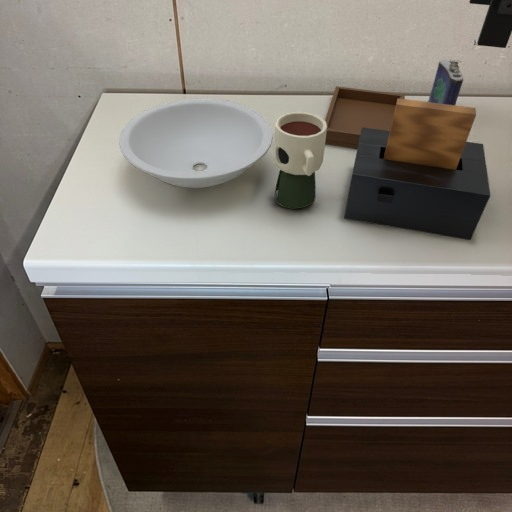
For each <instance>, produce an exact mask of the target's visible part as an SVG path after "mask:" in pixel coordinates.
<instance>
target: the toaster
mask: <svg viewBox="0 0 512 512" xmlns="http://www.w3.org/2000/svg"><path fill="white" fill-rule="evenodd" d="M389 133H390V131H386V130H378V129H371V128H364V127H362V129H361V134H360V138H359V143H358V148H356V154H355V158H354V162H353V168H352V172H351V178H350V184H349V190H348V194H347V200H346V205H345V211H344V216H343V219H344V220H345V219H346V220H351V221H357V222H363V223H370V224H373V225H375V224H376V225H379V226H381V225H382V226H388V227H392V228H398V229H404V230H409V231H410V230H411V231H415V232H421V233H427V234H431V235H432V234H433V235H440V236H445V237H450V238H455V239H456V238H457V239H460V240H461V239H462V240H467V241H471V240H472V238H473V236H474V233H475V231H476V229H477V227H478V224H479V222H480V220H481V218H482V216H483V213H484V211H485V208H486V207H487V204H488V202H489V200H490V197H491V196H492V195H491V189H490V181H489V176H488V168H487V162H486V154H485V148H484V147H485V146H484V144H483V143H480V142H473V141H466V144H465V147H464V149H463V152H462V155H461V158H460V160H459V163H458V166H457V168H456V170H454V169H447V168H441V167H434V166H427V165H420V164H414V163H407V162H400V161H393V160H387V159H383V158H384V154H385V150H386V145H387V141H388V137H389Z"/></svg>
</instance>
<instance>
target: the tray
mask: <svg viewBox="0 0 512 512" xmlns="http://www.w3.org/2000/svg"><path fill="white" fill-rule="evenodd" d="M398 98H399V99H406V94H403V93H394V92H385V91H379V90H377V91H376V90H369V89H362V88H353V87H346V86H337V85H336V86H335V87H334V91H333V94H332V96H331V100H330V104H329V107H328V110H327V113H326V116H325V118H324V120H325V121H326V125H327V133H326V140H325V145H329V146H337V147H344V148H351V149H357V148H358V143H359V138H360V134H361V129H362V127H364V128H371V129H378V130H386V131H390V128H391V124H392V120H393V115H394V111H395V107H396V103H397V99H398Z"/></svg>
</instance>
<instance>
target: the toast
mask: <svg viewBox="0 0 512 512" xmlns="http://www.w3.org/2000/svg"><path fill="white" fill-rule="evenodd" d="M476 117H477V109H476V107H470V106H463V105H447V104H439V103H431V102H428V101H421V100H415V99H408V98H407V99H406V98H405V99H399V98H398V99H397V103H396V107H395V111H394V115H393V120H392V124H391V128H390V133H389V137H388V141H387V145H386V150H385V154H384V158H383V159H387V160H393V161H400V162H407V163H414V164H420V165H427V166H434V167H441V168H447V169H454V170H456V168H457V166H458V163H459V160H460V158H461V155H462V152H463V149H464V147H465V144H466V142H468V138H469V135H470V133H471V131H472V128H473V125H474V122H475V120H476Z"/></svg>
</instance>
